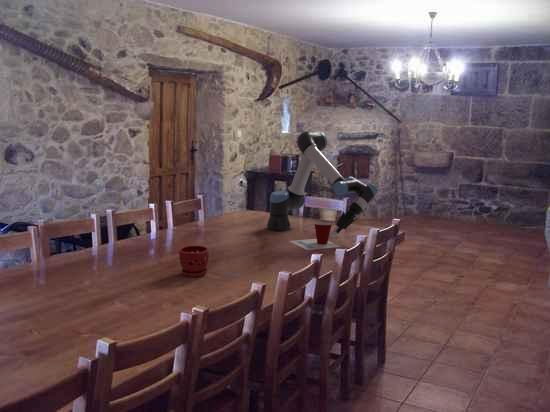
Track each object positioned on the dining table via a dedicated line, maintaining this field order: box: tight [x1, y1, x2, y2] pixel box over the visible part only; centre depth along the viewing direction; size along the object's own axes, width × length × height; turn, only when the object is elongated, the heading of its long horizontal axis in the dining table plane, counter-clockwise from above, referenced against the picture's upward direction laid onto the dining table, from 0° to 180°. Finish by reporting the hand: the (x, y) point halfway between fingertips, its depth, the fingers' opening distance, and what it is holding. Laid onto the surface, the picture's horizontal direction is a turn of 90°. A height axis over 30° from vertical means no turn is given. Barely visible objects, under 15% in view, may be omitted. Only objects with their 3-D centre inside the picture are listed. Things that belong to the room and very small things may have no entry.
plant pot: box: [178, 245, 210, 278], centre depth 258 cm, size 13×13×12 cm
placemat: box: [288, 238, 342, 251], centre depth 324 cm, size 22×22×1 cm
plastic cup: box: [313, 221, 333, 244], centre depth 325 cm, size 11×11×12 cm
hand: (332, 236), depth 328 cm, fingers closed
